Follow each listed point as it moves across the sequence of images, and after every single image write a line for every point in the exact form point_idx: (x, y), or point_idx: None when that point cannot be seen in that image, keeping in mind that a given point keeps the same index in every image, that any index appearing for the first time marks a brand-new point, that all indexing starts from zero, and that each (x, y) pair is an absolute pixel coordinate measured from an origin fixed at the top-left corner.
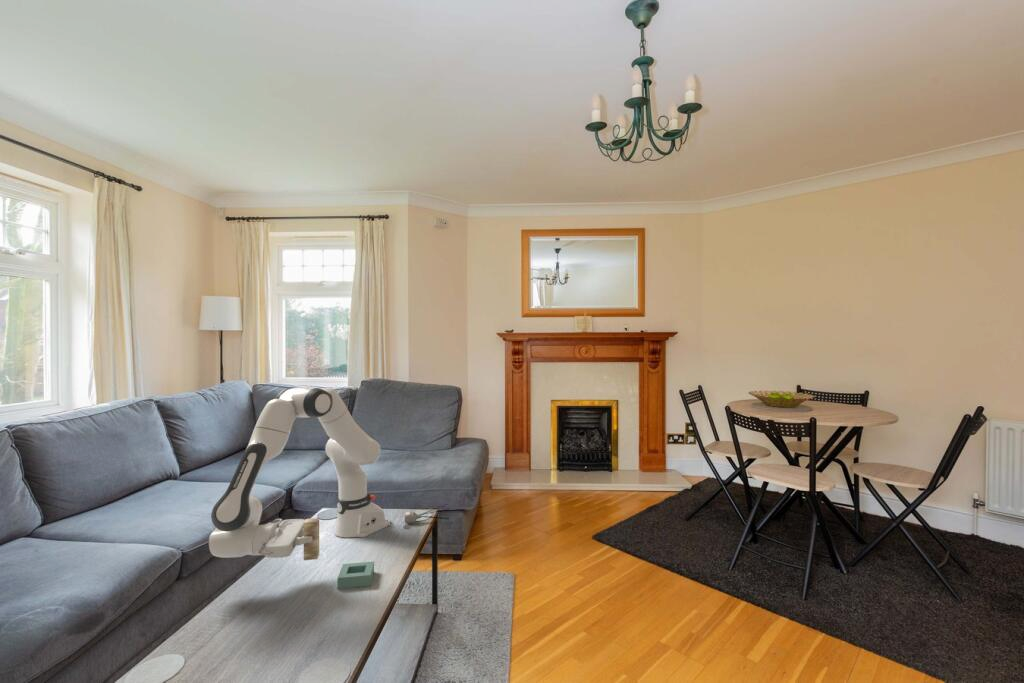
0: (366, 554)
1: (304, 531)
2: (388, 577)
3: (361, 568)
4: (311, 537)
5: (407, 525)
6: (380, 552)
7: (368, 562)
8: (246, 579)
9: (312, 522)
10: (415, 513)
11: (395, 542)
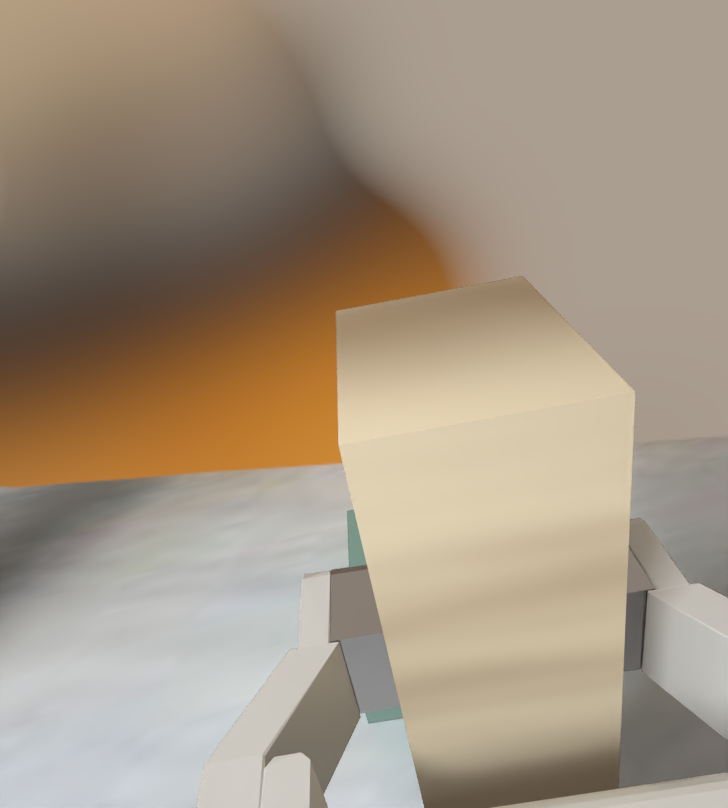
0: (108, 660)
1: (619, 576)
2: None
3: None
4: (638, 524)
5: None
6: (124, 591)
7: (355, 530)
8: None
9: (546, 314)
10: None
11: (38, 556)
